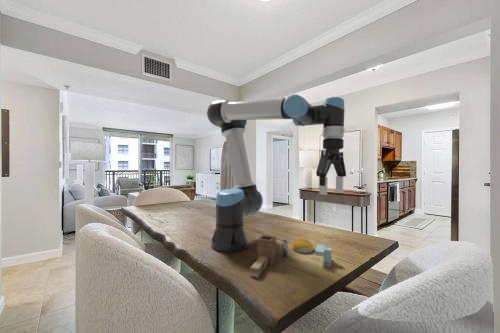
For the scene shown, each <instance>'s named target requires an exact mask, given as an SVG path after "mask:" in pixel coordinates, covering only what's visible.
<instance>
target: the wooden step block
mask: <svg viewBox="0 0 500 333" xmlns="http://www.w3.org/2000/svg"><path fill="white" fill-rule="evenodd" d="M256 243H257V244H256V245H257V247H256V248H257V249H256V250H257V252H256V261H255V262H253V264H252V265H251V266H250V267H249V276H250V277H254V278H257V279H258V278H259V277H260V276H261V274H262V273H263V271H265V269H266V268H267V266H268V265H270V266H272V265H273V264H274V263H275V261H276V259H277V257H276V254H277V253H276V251H277V247H276V246H277V237H276V236H273V235H262V234H261V236H259V237H258V238H257V241H256Z"/></svg>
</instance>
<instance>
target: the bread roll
mask: <svg viewBox="0 0 500 333" xmlns="http://www.w3.org/2000/svg"><path fill="white" fill-rule="evenodd" d="M292 250H293V251H294V252H297V253H301V254H308V253H312V252H313V251H314V246H313V243H312V242H311V241H310V240H308V239H306V238H298V239H296V240H294V241H293V243H292Z"/></svg>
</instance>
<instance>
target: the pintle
mask: <svg viewBox="0 0 500 333" xmlns="http://www.w3.org/2000/svg"><path fill="white" fill-rule="evenodd" d="M287 240H288V239H287V238H286V237H283V241H282V246H281V248H282V250H281V256H282V257H283V258H288V254H289V252H288V251H289V250H288V249H289V248H288V247H289V246H288V245H289V242H288V241H287Z"/></svg>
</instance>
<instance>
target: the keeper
mask: <svg viewBox="0 0 500 333" xmlns="http://www.w3.org/2000/svg"><path fill="white" fill-rule="evenodd" d="M314 254H315V256H317V257H323V267H328V268H332V247H326V244H319V243H318V244H317V245H316V248H315V253H314Z"/></svg>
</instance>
